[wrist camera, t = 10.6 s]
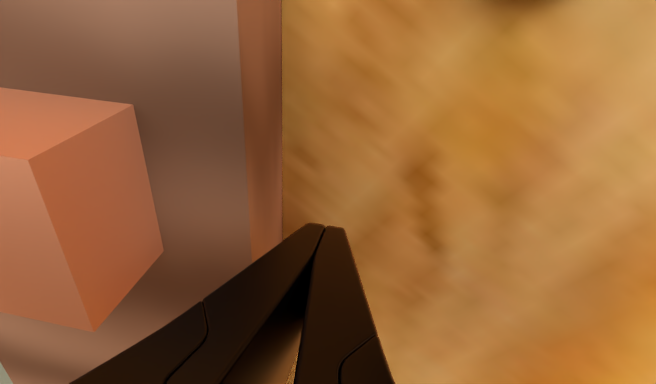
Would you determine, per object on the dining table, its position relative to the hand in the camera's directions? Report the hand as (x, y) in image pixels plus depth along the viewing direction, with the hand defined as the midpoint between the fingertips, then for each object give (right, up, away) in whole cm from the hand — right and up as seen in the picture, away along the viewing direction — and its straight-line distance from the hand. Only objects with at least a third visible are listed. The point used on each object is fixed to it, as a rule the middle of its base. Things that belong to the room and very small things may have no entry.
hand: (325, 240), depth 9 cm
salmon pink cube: (-7, +2, +2) cm, 7 cm away
